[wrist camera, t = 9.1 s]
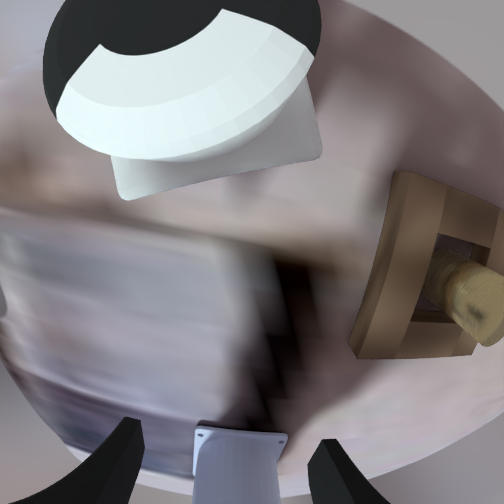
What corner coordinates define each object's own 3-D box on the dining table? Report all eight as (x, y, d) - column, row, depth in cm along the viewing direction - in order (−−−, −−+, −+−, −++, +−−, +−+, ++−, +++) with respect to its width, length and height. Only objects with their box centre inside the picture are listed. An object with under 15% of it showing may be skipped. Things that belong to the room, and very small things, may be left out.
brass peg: (448, 300, 18) (503, 344, 12) (412, 297, 18) (468, 348, 11) (463, 251, 17) (527, 284, 11) (427, 244, 17) (495, 279, 10)
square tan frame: (459, 343, 20) (471, 354, 18) (348, 342, 19) (357, 358, 17) (502, 213, 17) (518, 217, 15) (394, 170, 16) (410, 171, 14)
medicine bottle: (148, 77, 14) (23, -22, 2) (266, 50, 14) (300, -103, 2) (169, 189, 16) (24, 237, 4) (292, 163, 16) (405, 150, 4)
